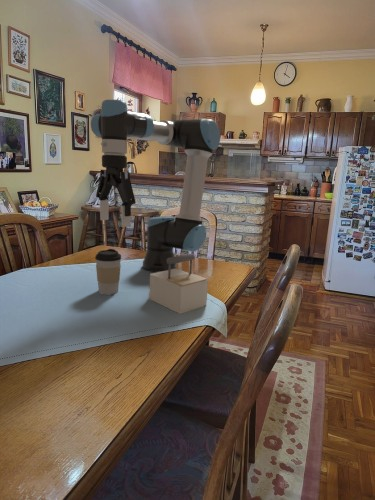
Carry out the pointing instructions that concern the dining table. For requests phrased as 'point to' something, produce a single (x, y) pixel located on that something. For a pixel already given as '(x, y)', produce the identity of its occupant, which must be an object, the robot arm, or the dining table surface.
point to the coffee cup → (108, 271)
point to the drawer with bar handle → (185, 278)
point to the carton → (177, 292)
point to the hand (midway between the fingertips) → (114, 223)
